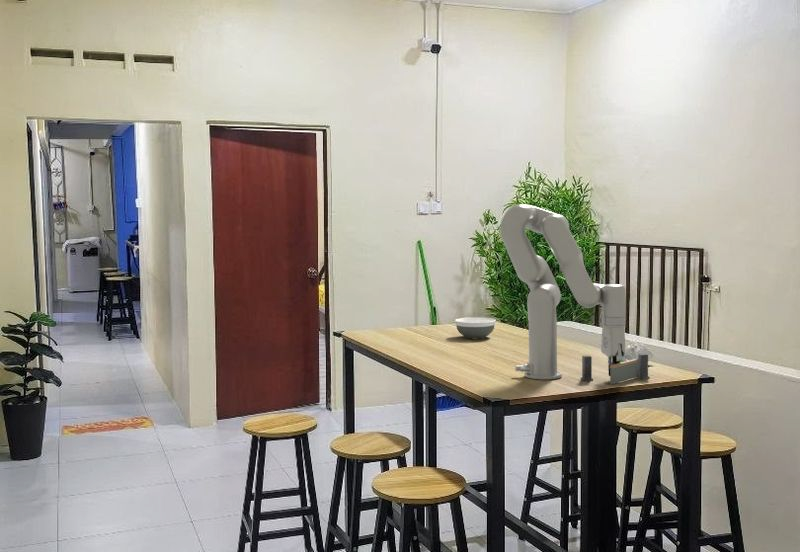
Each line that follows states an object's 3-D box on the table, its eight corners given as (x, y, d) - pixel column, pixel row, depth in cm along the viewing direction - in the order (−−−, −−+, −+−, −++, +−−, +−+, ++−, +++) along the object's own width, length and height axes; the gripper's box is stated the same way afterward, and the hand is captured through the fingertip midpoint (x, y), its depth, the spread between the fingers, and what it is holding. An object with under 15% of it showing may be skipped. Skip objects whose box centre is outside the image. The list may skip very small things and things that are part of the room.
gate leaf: (613, 384, 257) (613, 365, 257) (609, 383, 258) (609, 365, 258) (639, 376, 268) (639, 359, 268) (635, 376, 269) (635, 358, 269)
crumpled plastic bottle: (621, 352, 299) (639, 336, 294) (637, 371, 296) (655, 355, 291) (607, 357, 290) (625, 341, 285) (623, 377, 287) (641, 361, 282)
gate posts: (583, 380, 265) (583, 357, 264) (580, 379, 268) (580, 355, 267) (649, 378, 267) (649, 354, 266) (645, 376, 270) (645, 353, 269)
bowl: (462, 341, 352) (462, 323, 351) (449, 335, 370) (449, 318, 369) (502, 339, 356) (501, 321, 355) (487, 333, 374) (487, 316, 374)
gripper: (594, 319, 270) (595, 372, 272) (611, 324, 256) (611, 381, 257) (615, 318, 271) (616, 371, 273) (633, 324, 256) (633, 380, 258)
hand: (614, 376), depth 265 cm, fingers closed
